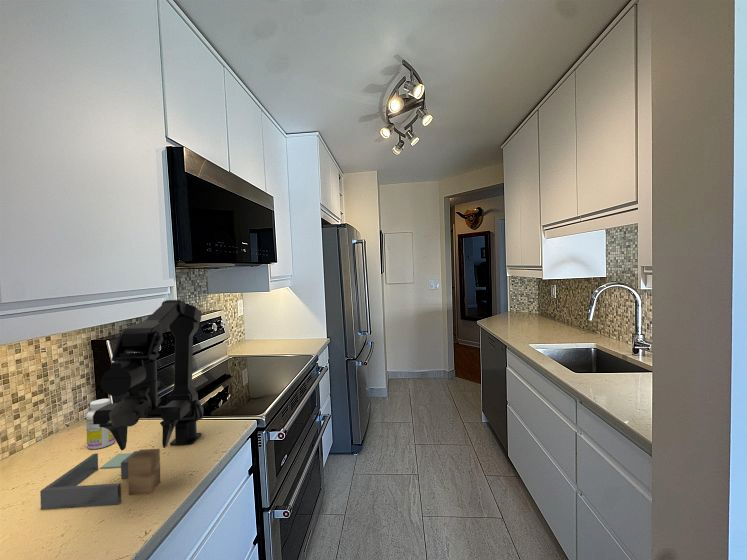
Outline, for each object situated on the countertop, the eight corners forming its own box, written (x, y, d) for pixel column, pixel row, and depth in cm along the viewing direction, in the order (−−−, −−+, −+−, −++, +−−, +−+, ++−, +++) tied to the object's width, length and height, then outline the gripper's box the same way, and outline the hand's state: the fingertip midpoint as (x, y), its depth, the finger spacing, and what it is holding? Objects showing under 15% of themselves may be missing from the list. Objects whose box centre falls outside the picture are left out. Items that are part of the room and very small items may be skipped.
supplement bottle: (112, 437, 107) (111, 395, 107) (118, 443, 103) (117, 400, 102) (84, 445, 102) (83, 402, 101) (90, 452, 97) (88, 407, 97)
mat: (118, 454, 96) (118, 453, 96) (148, 453, 96) (148, 452, 96) (100, 468, 89) (100, 467, 89) (133, 466, 89) (133, 465, 89)
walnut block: (140, 483, 82) (139, 449, 82) (160, 482, 83) (159, 448, 82) (128, 495, 78) (127, 459, 78) (149, 493, 78) (148, 458, 78)
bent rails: (94, 469, 89) (93, 453, 89) (157, 465, 90) (156, 450, 90) (40, 509, 73) (40, 490, 73) (118, 504, 74) (117, 485, 74)
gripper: (71, 395, 71) (74, 470, 71) (166, 391, 73) (168, 464, 73) (108, 379, 82) (110, 444, 82) (190, 375, 84) (192, 439, 84)
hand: (144, 448), depth 80 cm, fingers open, 9 cm apart
